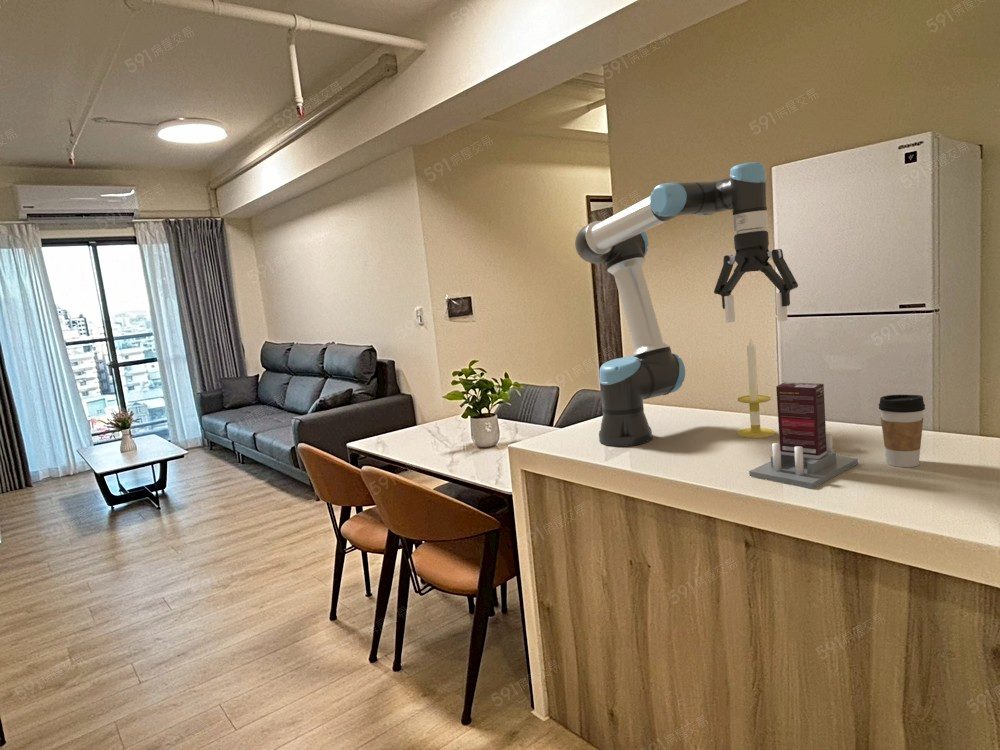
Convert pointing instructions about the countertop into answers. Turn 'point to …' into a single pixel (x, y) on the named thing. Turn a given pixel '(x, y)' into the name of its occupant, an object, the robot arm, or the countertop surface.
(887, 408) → the coffee cup
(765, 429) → the candle
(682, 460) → the countertop surface
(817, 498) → the countertop surface
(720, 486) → the countertop surface
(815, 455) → the supplement box
